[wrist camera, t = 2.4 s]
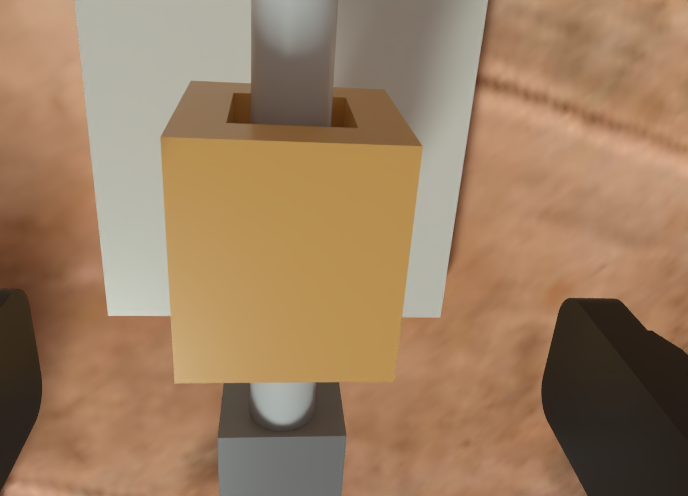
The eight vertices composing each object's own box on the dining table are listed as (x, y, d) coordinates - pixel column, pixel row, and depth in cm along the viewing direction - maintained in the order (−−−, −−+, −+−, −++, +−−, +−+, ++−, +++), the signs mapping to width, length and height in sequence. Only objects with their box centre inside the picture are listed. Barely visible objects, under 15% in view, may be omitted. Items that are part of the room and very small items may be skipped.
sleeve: (197, 276, 17) (174, 383, 13) (191, 80, 15) (160, 137, 11) (367, 278, 17) (394, 382, 13) (384, 89, 15) (423, 146, 11)
